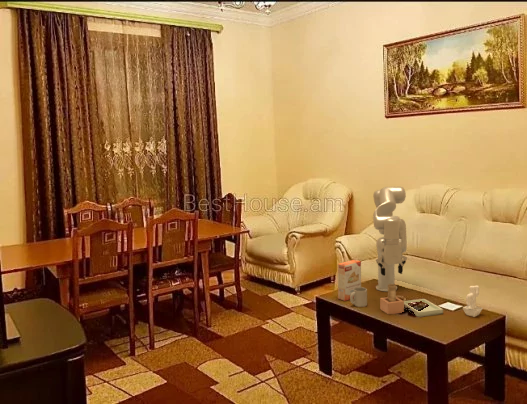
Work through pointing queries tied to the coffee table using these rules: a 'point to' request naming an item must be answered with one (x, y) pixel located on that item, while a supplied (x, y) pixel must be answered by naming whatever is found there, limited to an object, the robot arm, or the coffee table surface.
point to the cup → (359, 297)
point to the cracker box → (348, 278)
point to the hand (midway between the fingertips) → (391, 274)
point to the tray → (427, 311)
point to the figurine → (472, 302)
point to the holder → (391, 306)
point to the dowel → (391, 292)
